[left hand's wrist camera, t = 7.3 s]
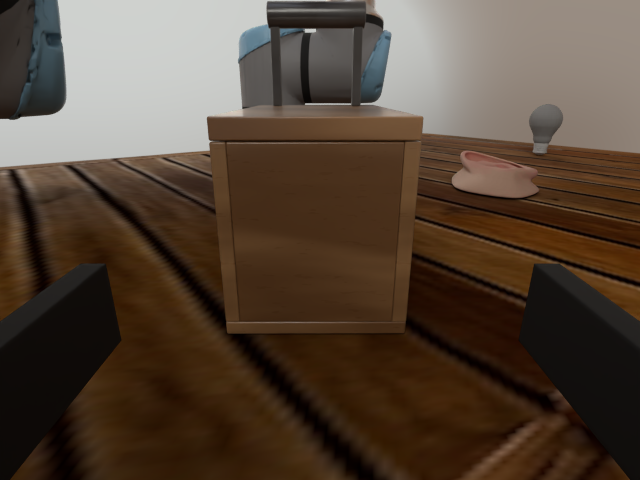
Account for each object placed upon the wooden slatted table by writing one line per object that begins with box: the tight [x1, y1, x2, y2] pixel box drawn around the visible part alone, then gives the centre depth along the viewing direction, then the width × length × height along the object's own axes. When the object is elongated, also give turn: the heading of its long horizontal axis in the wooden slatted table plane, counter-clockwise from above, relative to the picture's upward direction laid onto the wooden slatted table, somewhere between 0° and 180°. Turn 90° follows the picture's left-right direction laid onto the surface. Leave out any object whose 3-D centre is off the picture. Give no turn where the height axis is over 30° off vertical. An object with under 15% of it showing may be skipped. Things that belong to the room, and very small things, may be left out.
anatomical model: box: [452, 151, 539, 198], centre depth 55 cm, size 13×4×12 cm
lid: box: [207, 1, 423, 141], centre depth 25 cm, size 18×10×8 cm, turn 0°
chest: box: [209, 141, 421, 334], centre depth 28 cm, size 17×10×10 cm, turn 0°
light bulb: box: [529, 104, 563, 155], centre depth 82 cm, size 6×6×10 cm
